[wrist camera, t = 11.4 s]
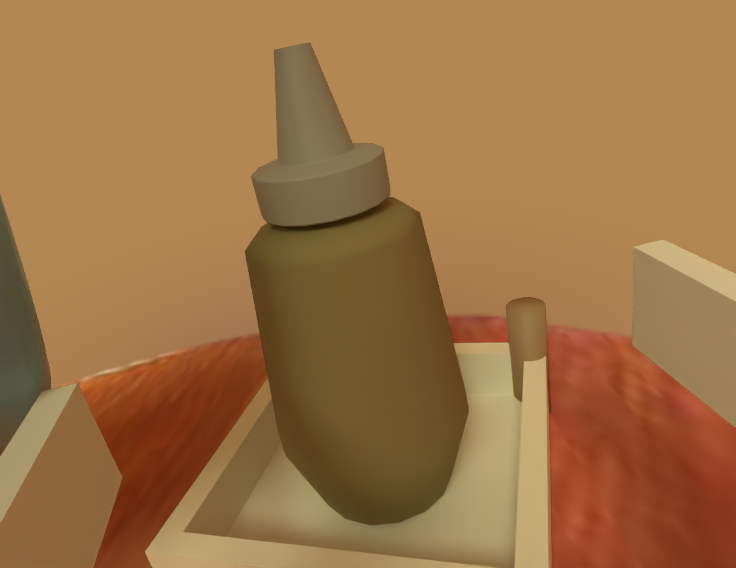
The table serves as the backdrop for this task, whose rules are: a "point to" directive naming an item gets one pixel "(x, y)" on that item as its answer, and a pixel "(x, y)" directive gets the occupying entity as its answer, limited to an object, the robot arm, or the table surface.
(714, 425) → the table surface
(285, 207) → the squeeze bottle
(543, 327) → the tray
